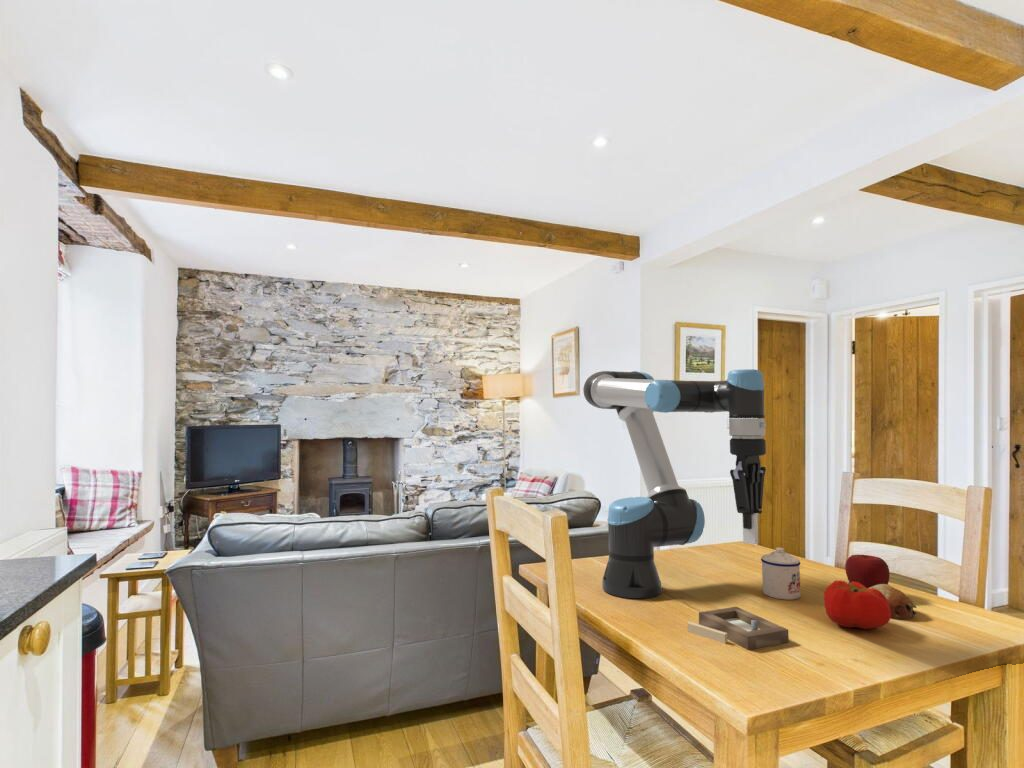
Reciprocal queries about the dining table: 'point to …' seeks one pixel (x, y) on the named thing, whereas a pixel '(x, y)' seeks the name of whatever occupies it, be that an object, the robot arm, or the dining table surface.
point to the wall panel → (714, 631)
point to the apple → (867, 570)
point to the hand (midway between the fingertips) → (750, 542)
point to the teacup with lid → (781, 575)
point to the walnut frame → (744, 627)
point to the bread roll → (897, 602)
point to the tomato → (856, 605)
